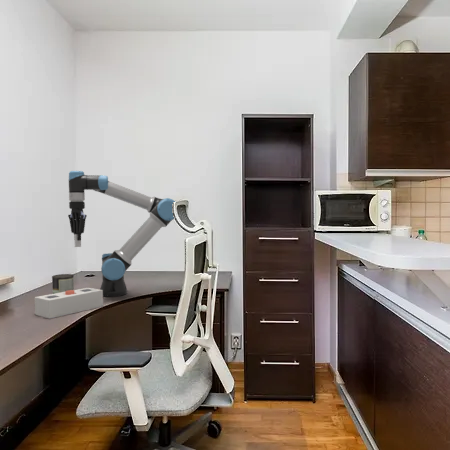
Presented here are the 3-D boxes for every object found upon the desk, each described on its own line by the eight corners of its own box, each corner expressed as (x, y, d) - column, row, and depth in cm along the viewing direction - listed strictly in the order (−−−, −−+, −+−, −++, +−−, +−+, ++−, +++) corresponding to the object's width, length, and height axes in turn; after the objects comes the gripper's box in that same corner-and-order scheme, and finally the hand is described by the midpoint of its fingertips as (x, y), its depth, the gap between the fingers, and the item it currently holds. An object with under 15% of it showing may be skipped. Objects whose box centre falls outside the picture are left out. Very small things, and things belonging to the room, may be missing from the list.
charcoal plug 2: (87, 302, 205) (87, 288, 204) (92, 303, 202) (92, 289, 202) (80, 304, 201) (80, 290, 201) (85, 305, 199) (85, 291, 199)
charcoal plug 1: (54, 310, 190) (53, 295, 190) (59, 311, 188) (58, 296, 188) (45, 311, 187) (45, 296, 187) (50, 313, 185) (50, 297, 184)
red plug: (71, 304, 197) (71, 289, 197) (76, 305, 195) (76, 290, 195) (63, 305, 194) (63, 291, 194) (68, 307, 192) (68, 292, 192)
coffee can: (48, 305, 205) (48, 277, 205) (57, 300, 216) (57, 274, 215) (69, 305, 205) (68, 277, 205) (77, 300, 215) (76, 273, 215)
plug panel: (88, 303, 209) (87, 287, 209) (102, 306, 202) (102, 290, 202) (35, 314, 187) (34, 297, 187) (49, 318, 180) (48, 300, 180)
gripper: (63, 201, 213) (64, 246, 214) (77, 200, 205) (78, 248, 206) (76, 201, 219) (76, 245, 220) (90, 201, 211) (91, 246, 212)
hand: (77, 246), depth 213 cm, fingers closed
